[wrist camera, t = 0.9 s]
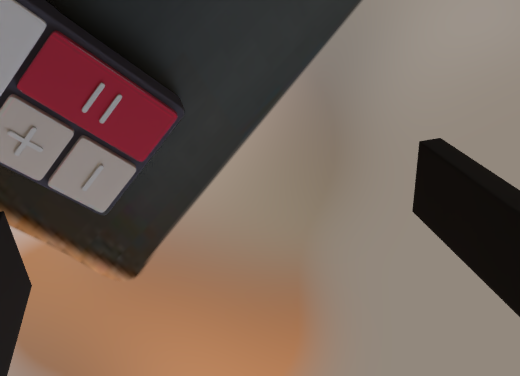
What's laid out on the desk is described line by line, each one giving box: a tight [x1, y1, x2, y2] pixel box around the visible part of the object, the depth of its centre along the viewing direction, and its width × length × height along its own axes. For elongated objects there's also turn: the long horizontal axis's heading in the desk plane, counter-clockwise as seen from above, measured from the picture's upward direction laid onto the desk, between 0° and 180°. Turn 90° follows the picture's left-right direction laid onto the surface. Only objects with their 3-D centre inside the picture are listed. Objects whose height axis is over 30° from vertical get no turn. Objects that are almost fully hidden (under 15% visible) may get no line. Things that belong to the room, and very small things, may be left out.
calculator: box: [0, 0, 185, 215], centre depth 35 cm, size 11×4×15 cm
